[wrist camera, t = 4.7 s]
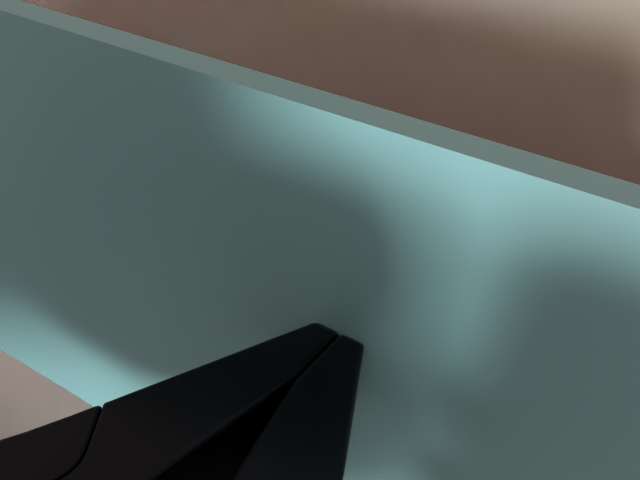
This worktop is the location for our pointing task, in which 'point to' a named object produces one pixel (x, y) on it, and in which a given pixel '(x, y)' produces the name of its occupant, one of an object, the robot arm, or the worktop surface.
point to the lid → (313, 254)
